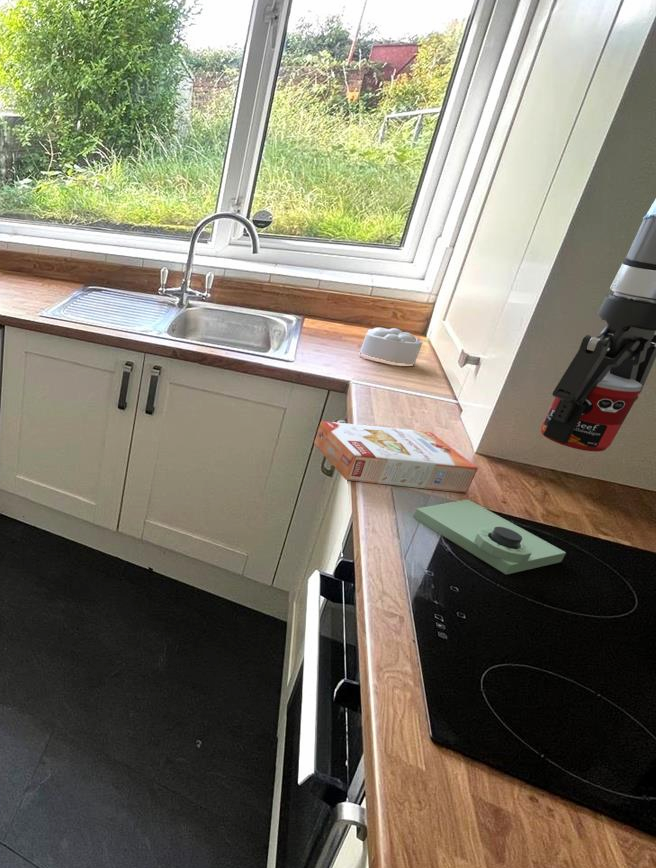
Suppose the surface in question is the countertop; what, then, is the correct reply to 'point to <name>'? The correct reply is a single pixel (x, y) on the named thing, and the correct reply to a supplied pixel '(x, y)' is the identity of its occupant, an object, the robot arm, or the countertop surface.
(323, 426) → the cracker box
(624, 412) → the canned food
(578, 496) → the countertop surface
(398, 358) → the lumpy-topped squat cylinder
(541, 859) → the countertop surface
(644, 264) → the robot arm
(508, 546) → the button
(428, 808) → the countertop surface
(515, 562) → the scale
